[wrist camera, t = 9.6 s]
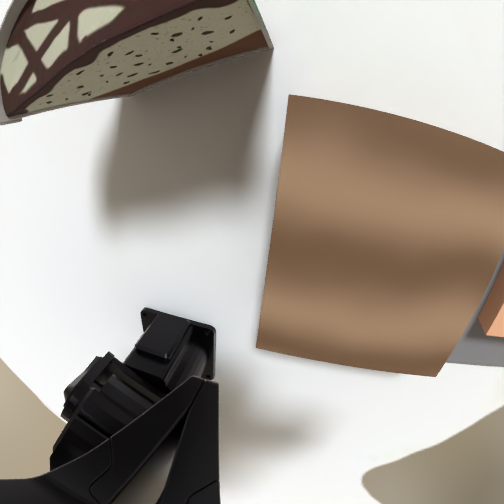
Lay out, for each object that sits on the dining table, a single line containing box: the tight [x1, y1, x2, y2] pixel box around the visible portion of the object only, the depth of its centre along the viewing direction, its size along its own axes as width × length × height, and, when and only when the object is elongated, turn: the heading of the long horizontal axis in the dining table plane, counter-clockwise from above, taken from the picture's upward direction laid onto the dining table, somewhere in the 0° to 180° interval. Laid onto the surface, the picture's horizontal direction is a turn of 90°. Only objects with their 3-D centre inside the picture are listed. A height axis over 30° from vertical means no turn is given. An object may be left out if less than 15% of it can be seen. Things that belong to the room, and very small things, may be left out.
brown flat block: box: [256, 95, 504, 377], centre depth 16 cm, size 14×12×4 cm
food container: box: [0, 0, 274, 125], centre depth 10 cm, size 12×6×10 cm, turn 104°
